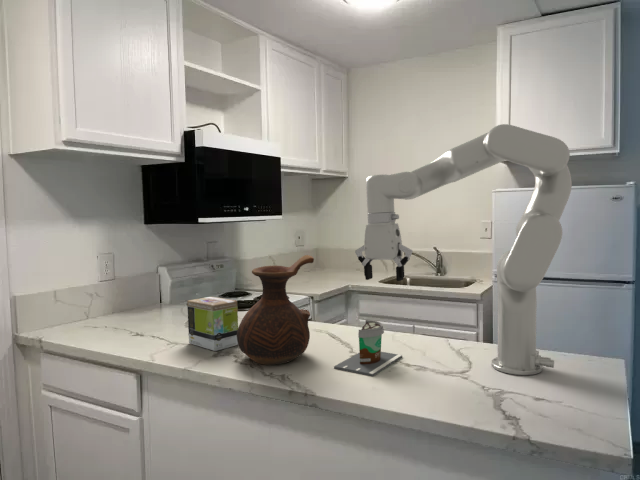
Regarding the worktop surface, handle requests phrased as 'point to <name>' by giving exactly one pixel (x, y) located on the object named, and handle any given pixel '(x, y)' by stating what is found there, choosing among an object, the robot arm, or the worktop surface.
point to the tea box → (213, 322)
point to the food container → (370, 342)
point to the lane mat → (368, 369)
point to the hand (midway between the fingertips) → (384, 279)
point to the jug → (275, 319)
